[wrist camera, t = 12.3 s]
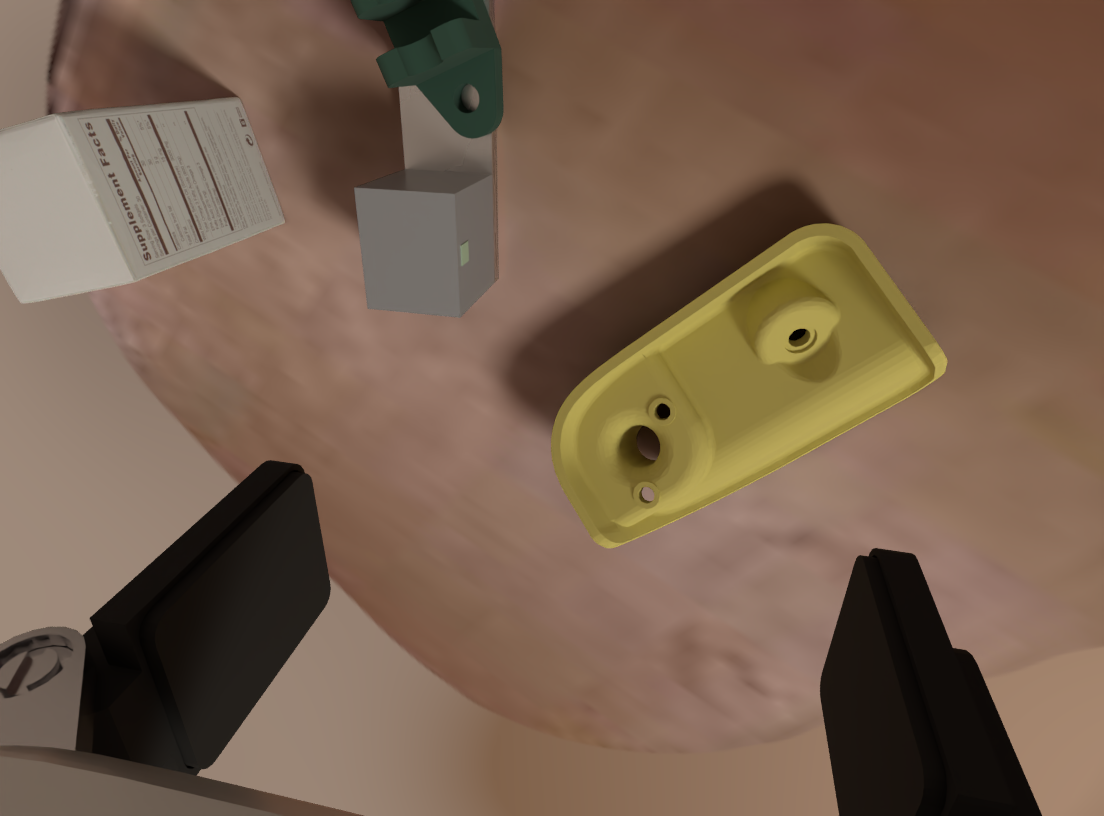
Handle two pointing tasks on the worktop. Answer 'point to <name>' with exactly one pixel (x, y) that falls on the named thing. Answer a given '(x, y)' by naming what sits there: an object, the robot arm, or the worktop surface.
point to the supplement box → (127, 193)
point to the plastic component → (741, 383)
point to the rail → (447, 140)
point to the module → (426, 240)
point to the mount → (443, 56)
